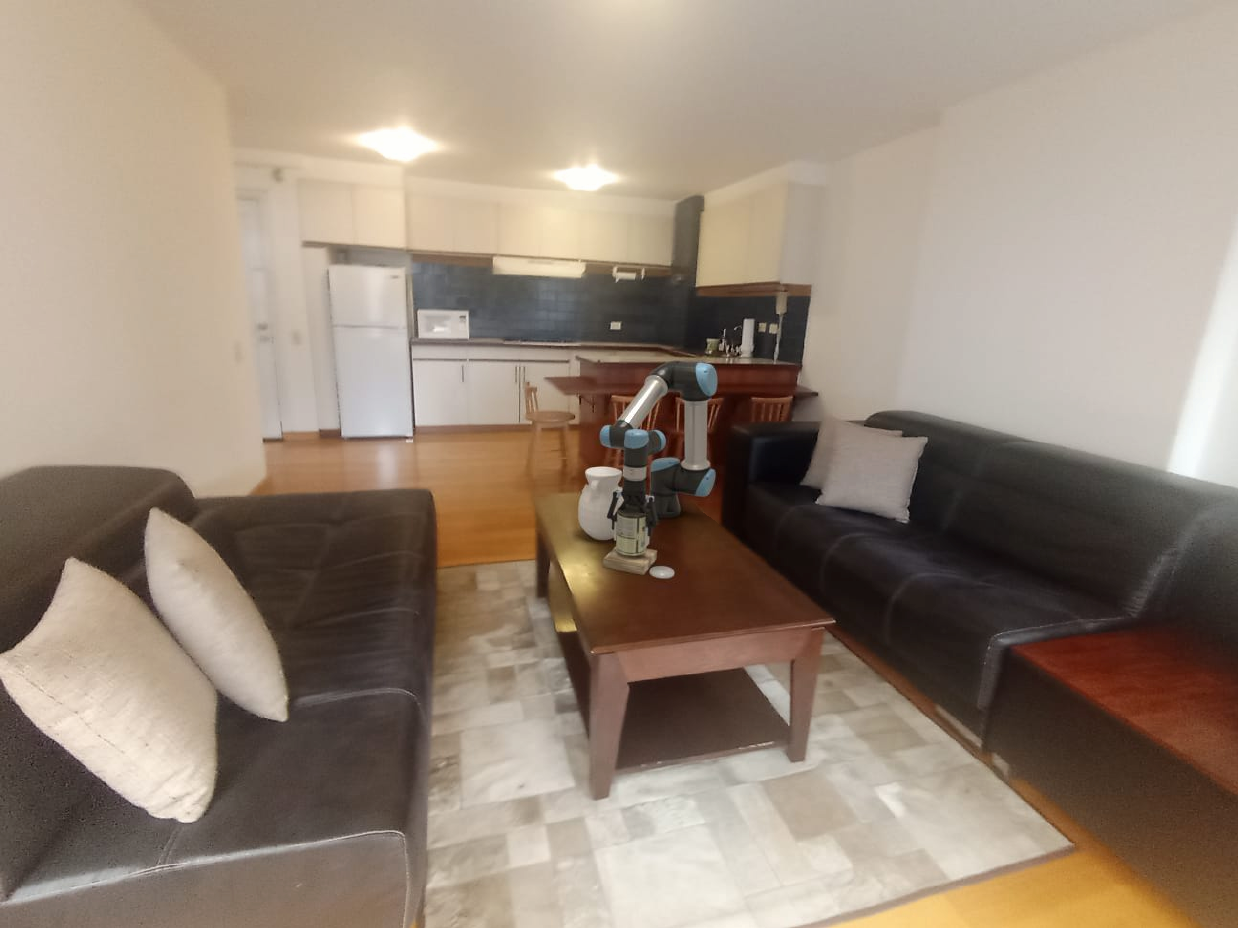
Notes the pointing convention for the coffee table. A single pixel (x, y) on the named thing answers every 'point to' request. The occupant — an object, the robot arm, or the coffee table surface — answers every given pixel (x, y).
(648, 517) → the robot arm
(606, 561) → the folded beige cloth
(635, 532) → the coffee can
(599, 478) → the pitcher
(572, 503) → the coffee table surface
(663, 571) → the coaster
